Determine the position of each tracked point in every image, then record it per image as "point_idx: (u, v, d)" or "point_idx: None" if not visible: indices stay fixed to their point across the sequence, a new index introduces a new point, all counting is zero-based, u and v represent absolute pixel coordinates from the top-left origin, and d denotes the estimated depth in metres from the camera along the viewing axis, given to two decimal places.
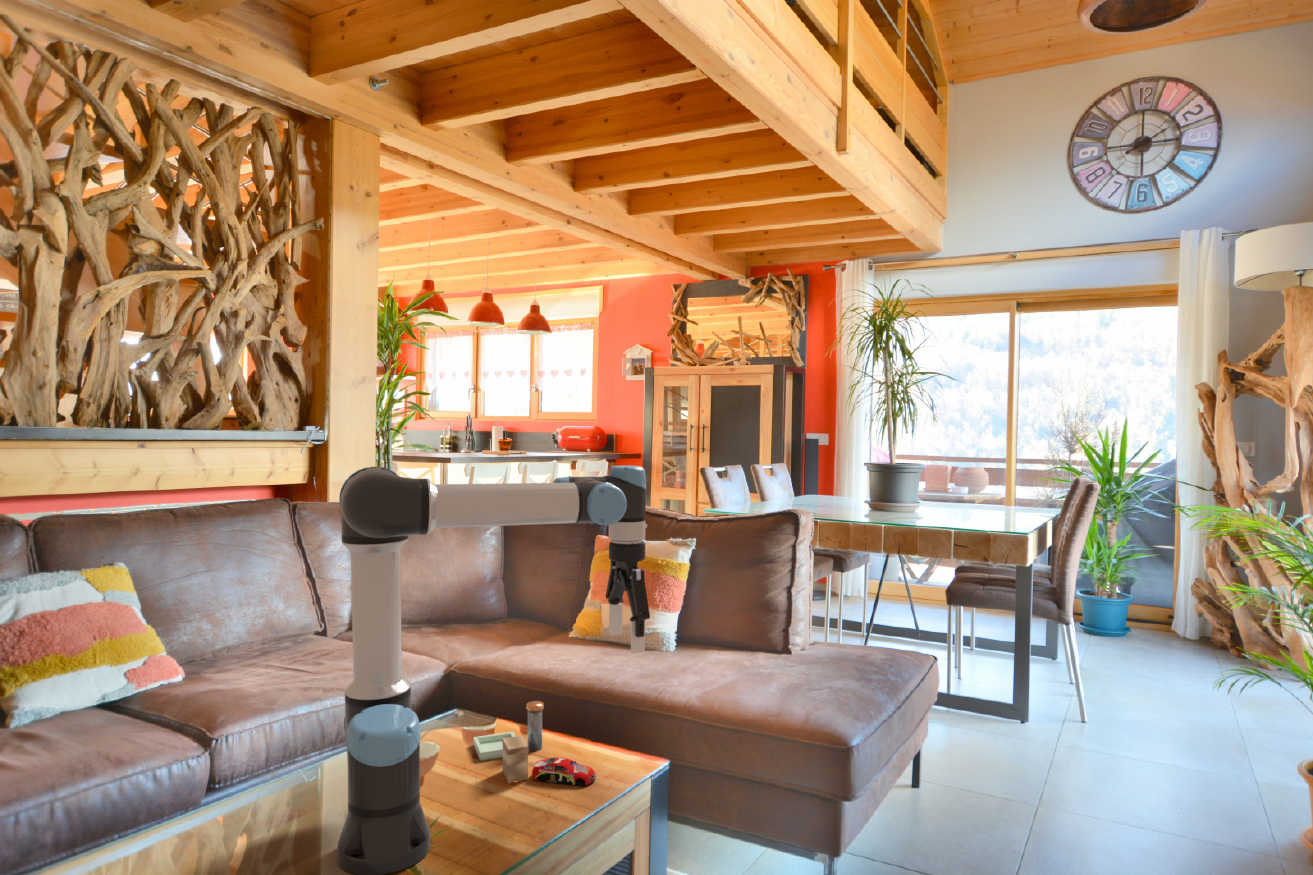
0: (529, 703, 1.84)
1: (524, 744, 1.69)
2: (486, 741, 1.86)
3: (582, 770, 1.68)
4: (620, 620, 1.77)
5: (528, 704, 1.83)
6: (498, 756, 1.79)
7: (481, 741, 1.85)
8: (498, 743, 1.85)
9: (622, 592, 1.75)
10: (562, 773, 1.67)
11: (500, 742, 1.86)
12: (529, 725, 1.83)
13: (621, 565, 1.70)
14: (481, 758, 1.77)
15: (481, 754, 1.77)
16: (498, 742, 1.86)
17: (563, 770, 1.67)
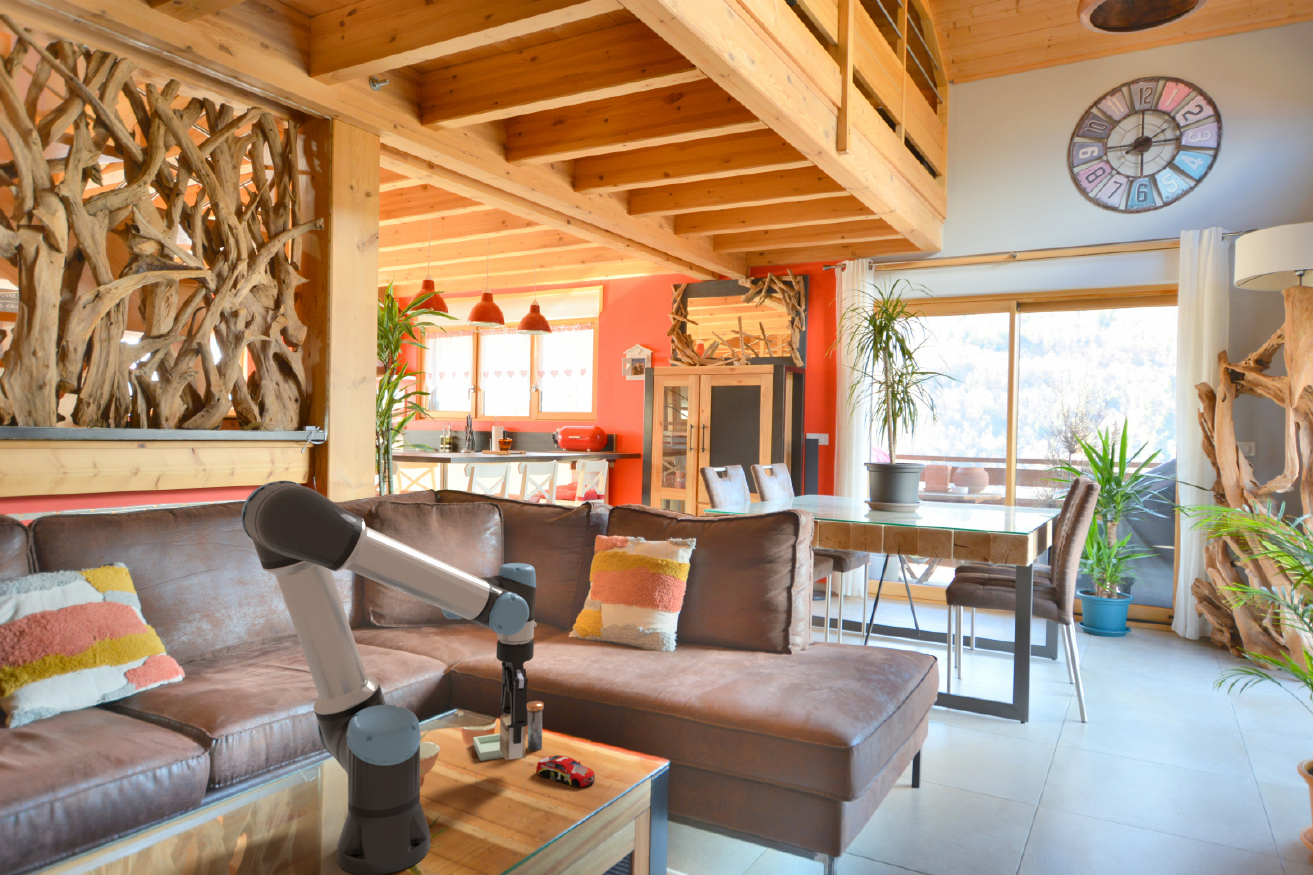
0: (529, 703, 1.84)
1: None
2: (486, 741, 1.86)
3: (580, 771, 1.67)
4: None
5: (528, 704, 1.83)
6: (498, 756, 1.79)
7: (481, 741, 1.85)
8: (498, 743, 1.85)
9: None
10: (560, 772, 1.67)
11: None
12: (529, 725, 1.83)
13: (509, 664, 1.69)
14: (481, 758, 1.77)
15: (481, 754, 1.77)
16: (498, 742, 1.86)
17: (562, 769, 1.67)
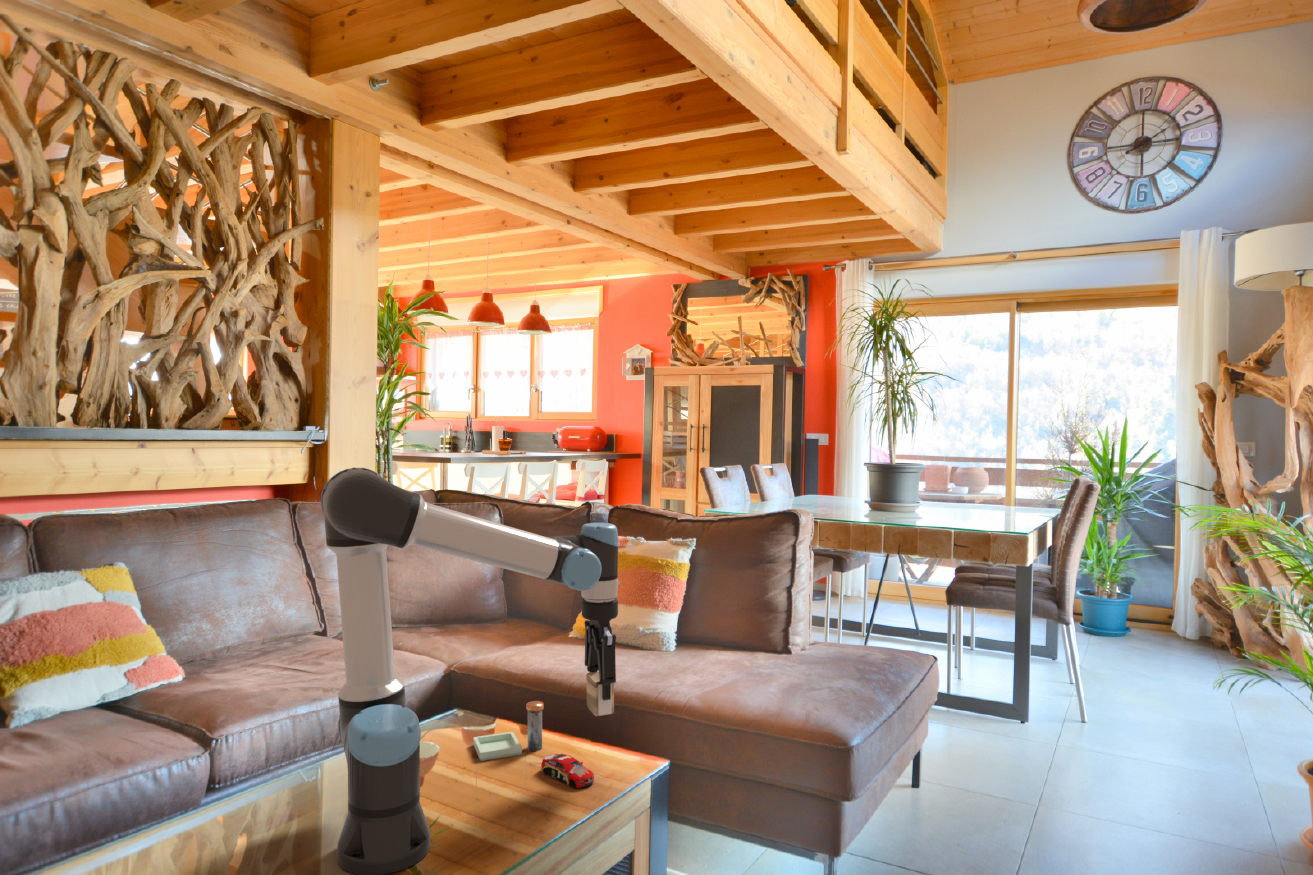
0: (529, 703, 1.84)
1: None
2: (486, 741, 1.86)
3: (578, 772, 1.67)
4: None
5: (528, 704, 1.83)
6: (498, 756, 1.79)
7: (481, 741, 1.85)
8: (498, 743, 1.85)
9: None
10: (560, 770, 1.68)
11: (500, 742, 1.86)
12: (529, 725, 1.83)
13: (594, 622, 1.71)
14: (481, 758, 1.77)
15: (481, 754, 1.77)
16: (498, 742, 1.86)
17: (561, 768, 1.68)
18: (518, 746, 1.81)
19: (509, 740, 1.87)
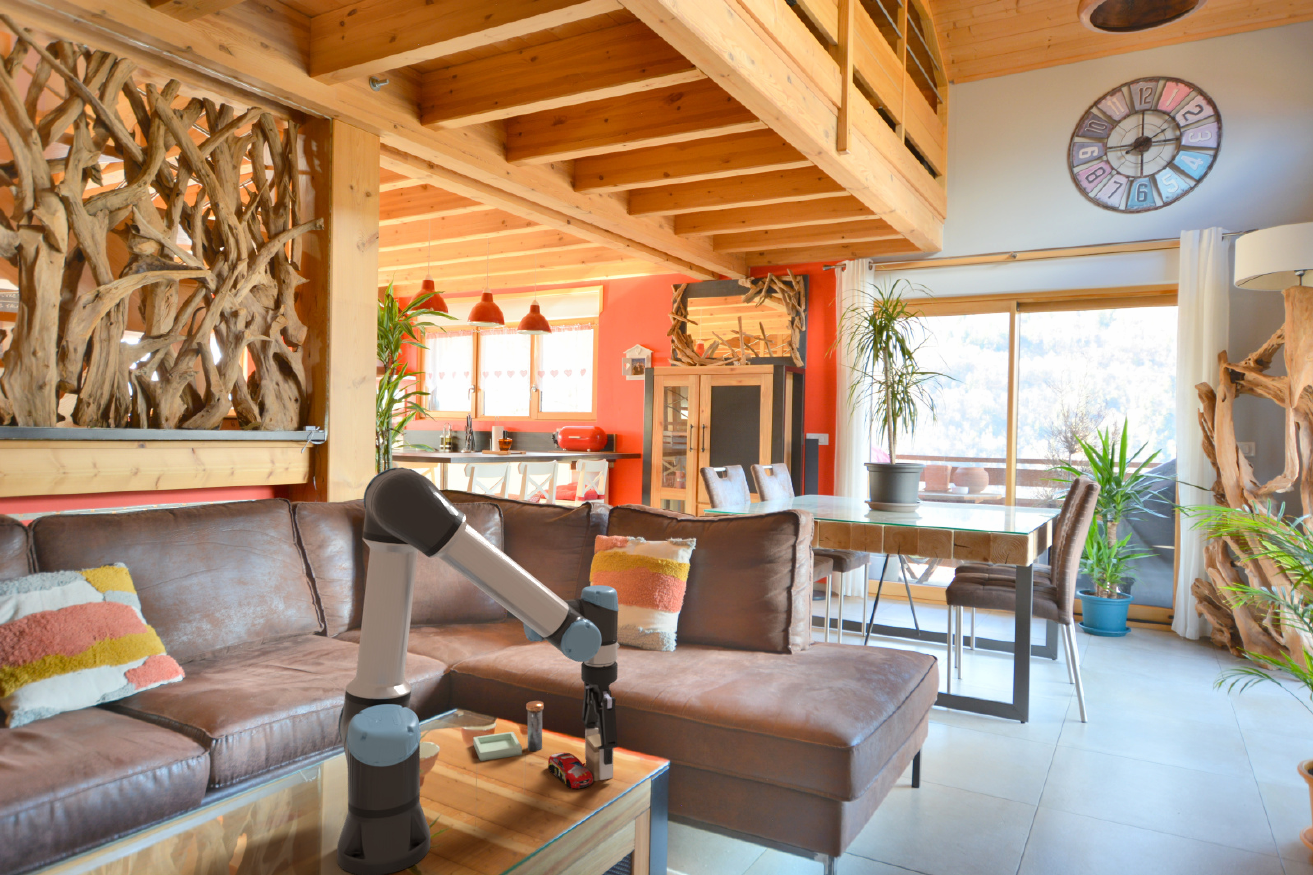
0: (529, 703, 1.84)
1: None
2: (486, 741, 1.86)
3: (576, 772, 1.67)
4: None
5: (528, 704, 1.83)
6: (498, 756, 1.79)
7: (481, 741, 1.85)
8: (498, 743, 1.85)
9: None
10: (560, 769, 1.68)
11: (500, 742, 1.86)
12: (529, 725, 1.83)
13: (593, 686, 1.71)
14: (481, 758, 1.77)
15: (481, 754, 1.77)
16: (498, 742, 1.86)
17: (561, 767, 1.68)
18: (518, 746, 1.81)
19: (509, 740, 1.87)
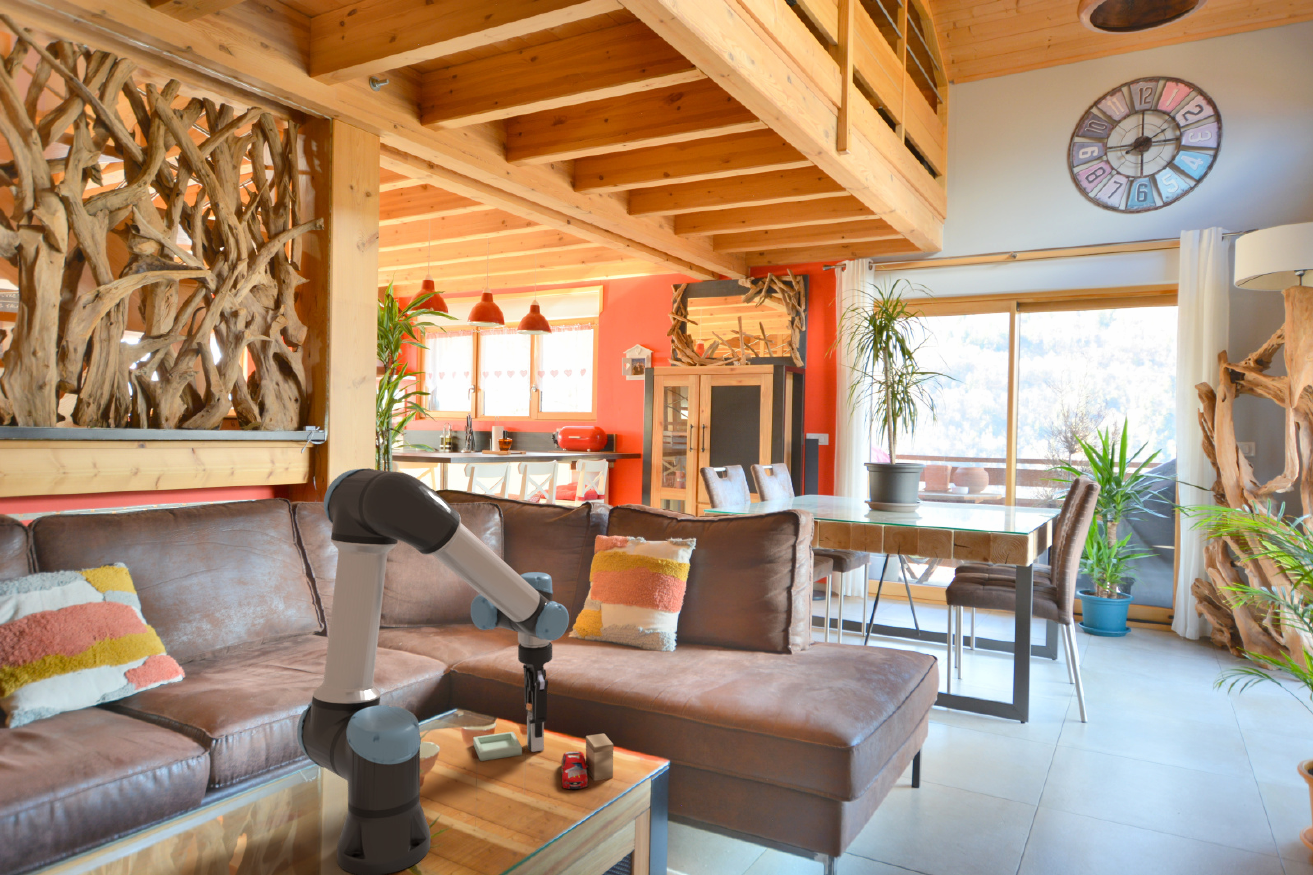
0: (529, 703, 1.84)
1: (608, 741, 1.71)
2: (486, 741, 1.86)
3: (572, 773, 1.66)
4: None
5: (528, 704, 1.83)
6: (498, 756, 1.79)
7: (481, 741, 1.85)
8: (498, 743, 1.85)
9: None
10: (562, 767, 1.69)
11: (500, 742, 1.86)
12: (529, 725, 1.83)
13: (530, 665, 1.83)
14: (481, 758, 1.77)
15: (481, 754, 1.77)
16: (498, 742, 1.86)
17: (563, 765, 1.69)
18: (518, 746, 1.81)
19: (509, 740, 1.87)
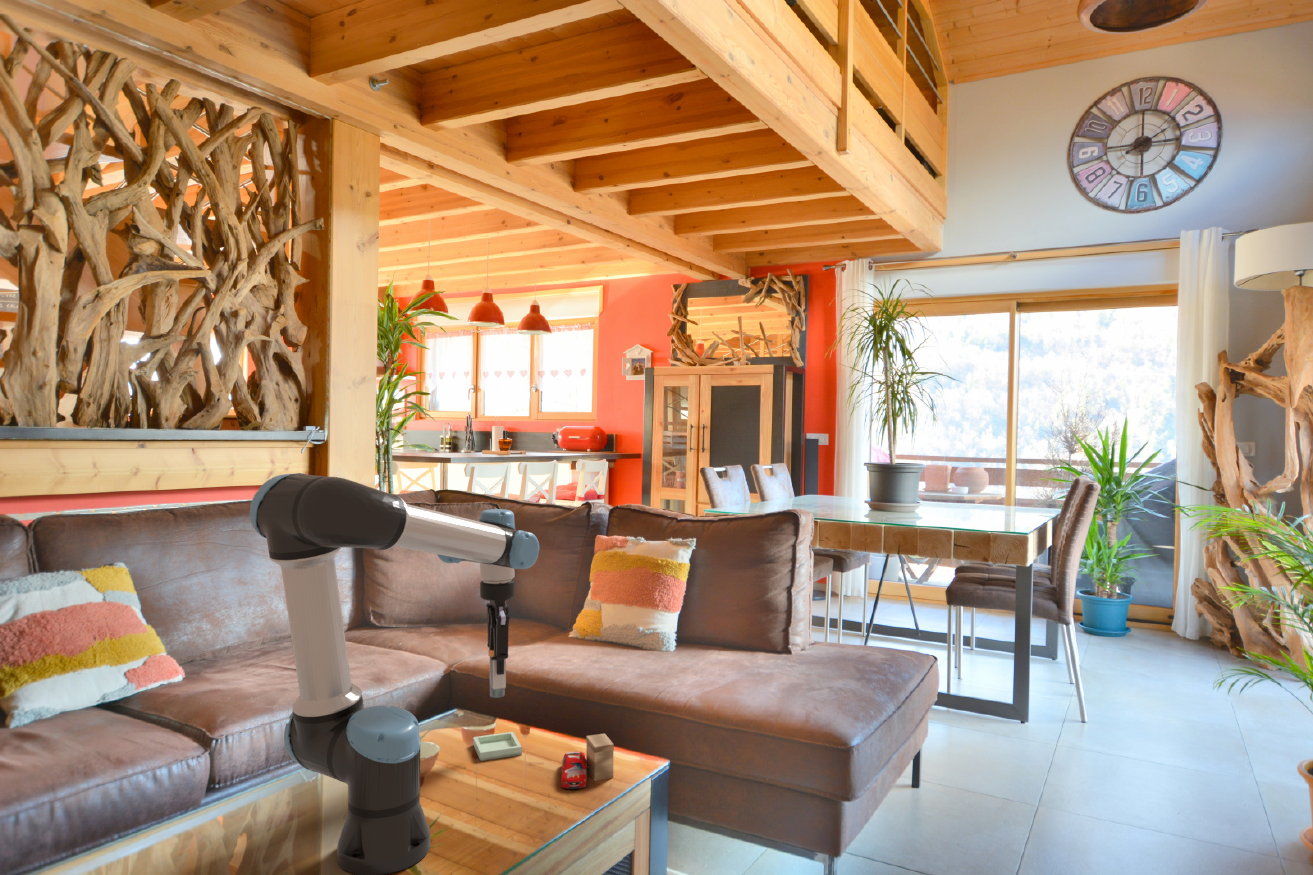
0: (491, 650, 1.82)
1: (609, 742, 1.71)
2: (486, 741, 1.86)
3: (571, 773, 1.66)
4: None
5: (490, 650, 1.82)
6: (498, 756, 1.79)
7: (481, 741, 1.85)
8: (498, 743, 1.85)
9: None
10: (562, 767, 1.70)
11: (500, 742, 1.86)
12: (491, 671, 1.81)
13: (492, 602, 1.82)
14: (481, 758, 1.77)
15: (481, 754, 1.77)
16: (498, 742, 1.86)
17: (563, 765, 1.69)
18: (518, 746, 1.81)
19: (509, 740, 1.87)
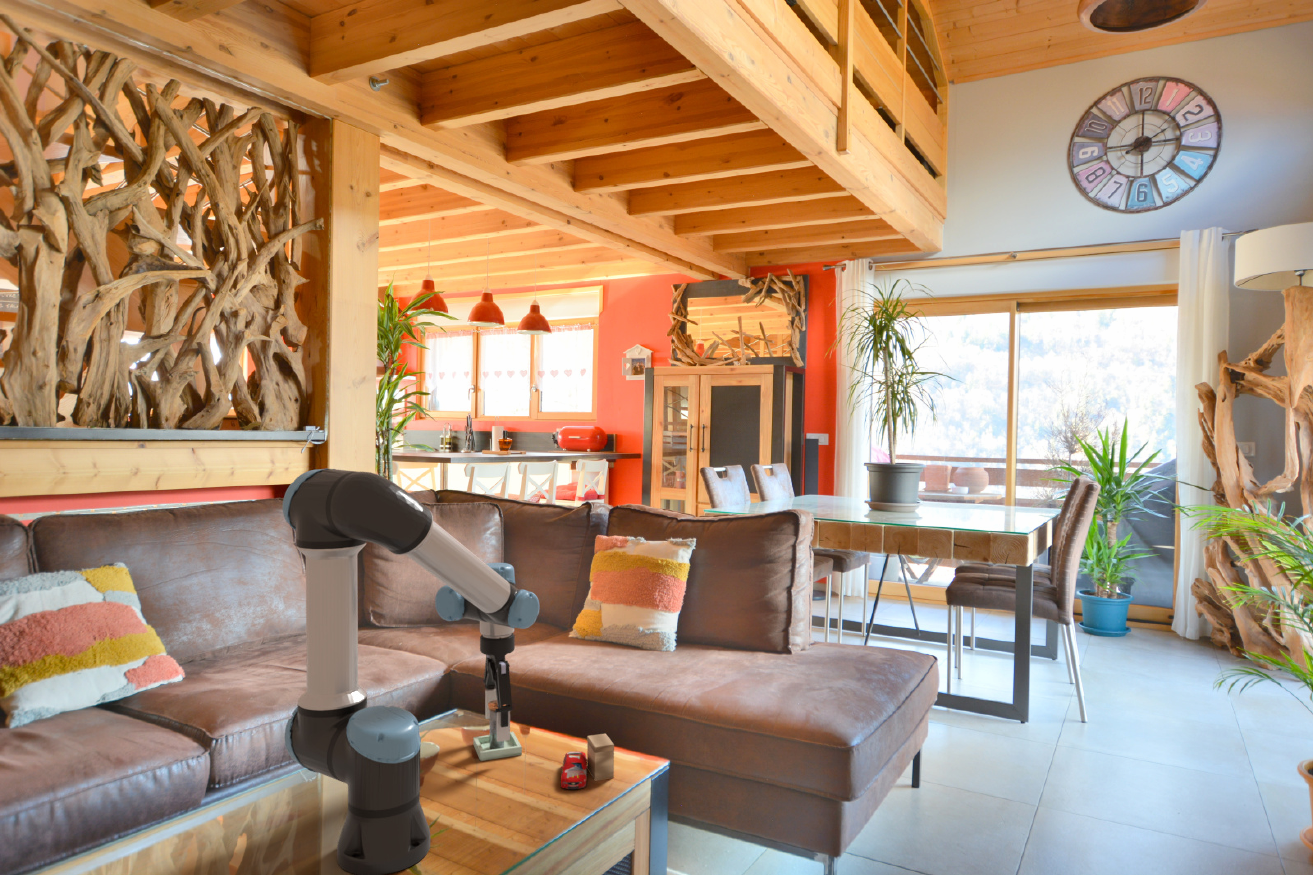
0: (491, 702, 1.83)
1: (609, 742, 1.71)
2: (486, 741, 1.86)
3: (571, 773, 1.66)
4: None
5: (490, 703, 1.82)
6: (498, 756, 1.79)
7: (481, 741, 1.85)
8: None
9: None
10: None
11: None
12: (491, 724, 1.82)
13: (492, 656, 1.82)
14: (481, 758, 1.77)
15: (481, 754, 1.77)
16: None
17: (564, 765, 1.69)
18: (518, 746, 1.81)
19: (509, 740, 1.87)
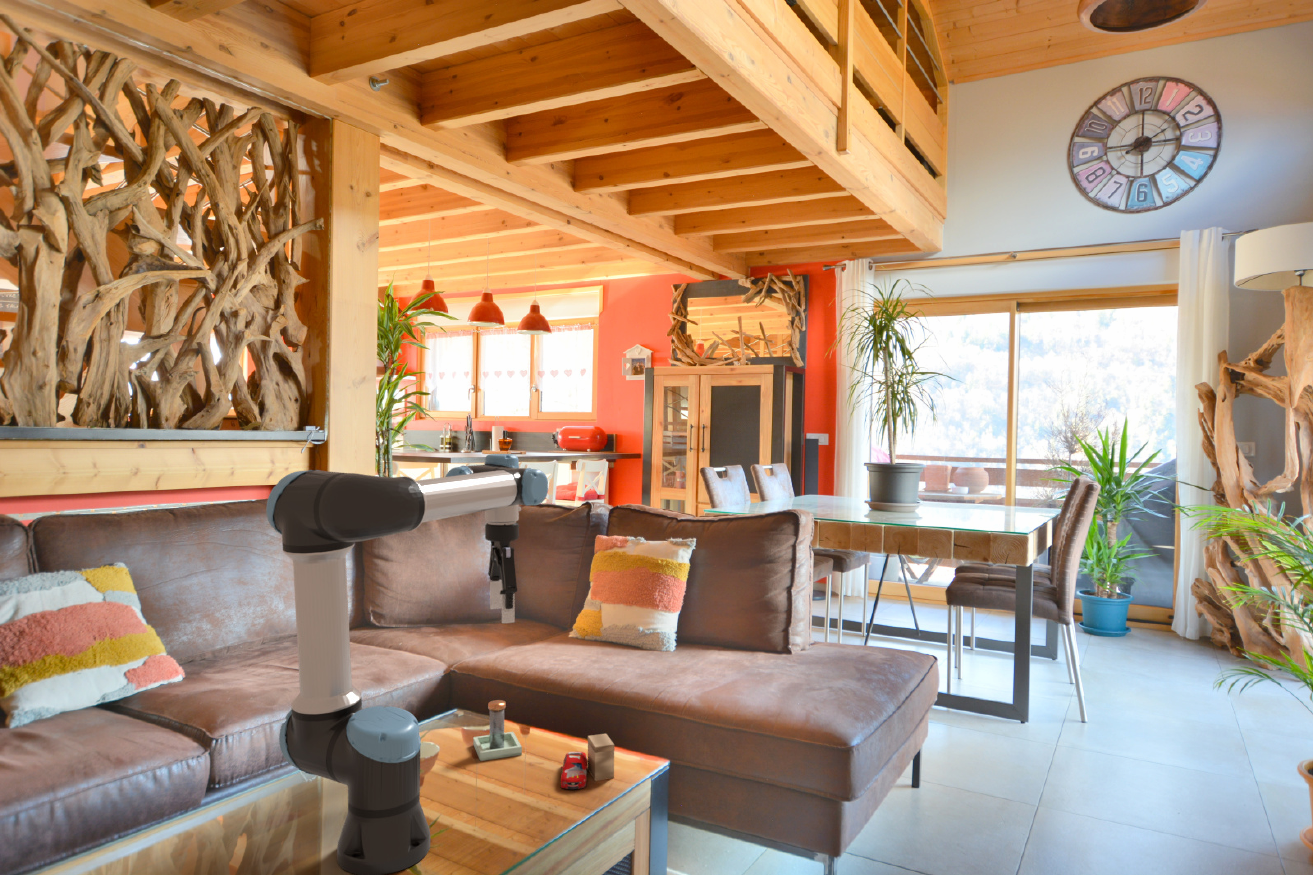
0: (491, 702, 1.83)
1: (609, 742, 1.71)
2: (486, 741, 1.86)
3: (571, 773, 1.66)
4: (500, 595, 1.94)
5: (490, 703, 1.82)
6: (498, 756, 1.79)
7: (481, 741, 1.85)
8: None
9: None
10: (563, 767, 1.70)
11: None
12: (491, 724, 1.82)
13: (497, 544, 1.87)
14: (481, 758, 1.77)
15: (481, 754, 1.77)
16: None
17: (564, 765, 1.69)
18: (518, 746, 1.81)
19: (509, 740, 1.87)
